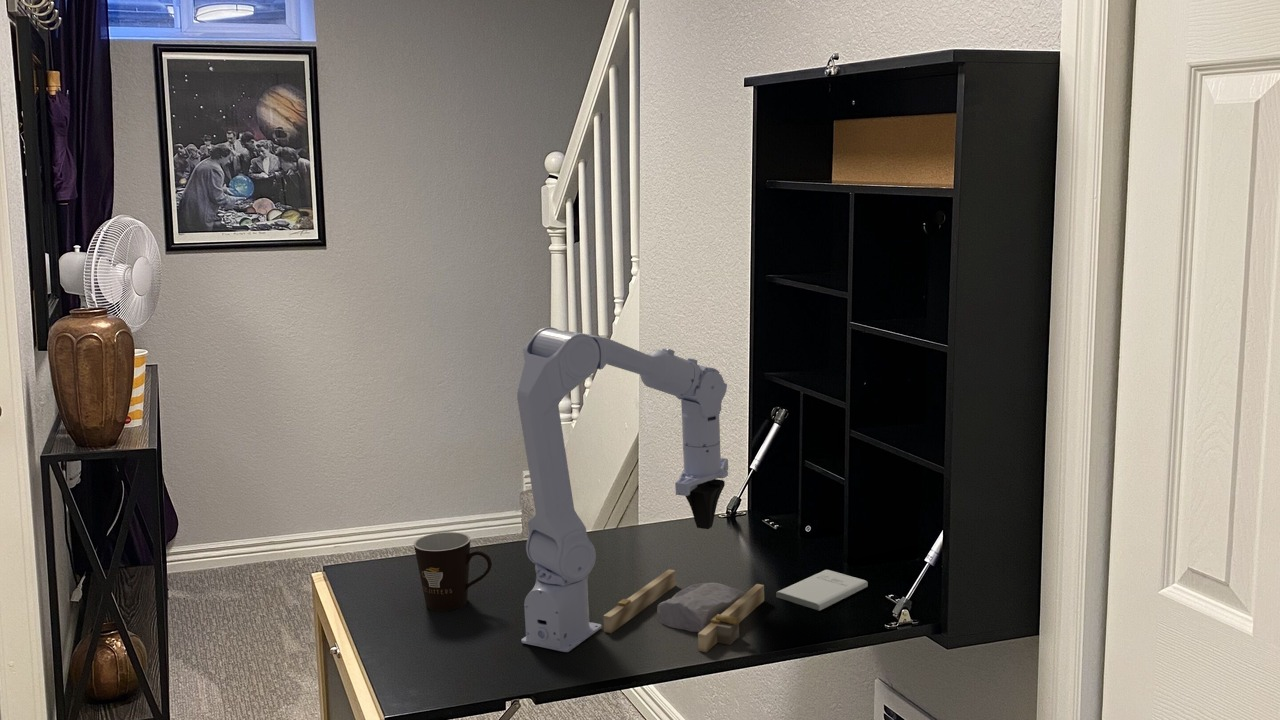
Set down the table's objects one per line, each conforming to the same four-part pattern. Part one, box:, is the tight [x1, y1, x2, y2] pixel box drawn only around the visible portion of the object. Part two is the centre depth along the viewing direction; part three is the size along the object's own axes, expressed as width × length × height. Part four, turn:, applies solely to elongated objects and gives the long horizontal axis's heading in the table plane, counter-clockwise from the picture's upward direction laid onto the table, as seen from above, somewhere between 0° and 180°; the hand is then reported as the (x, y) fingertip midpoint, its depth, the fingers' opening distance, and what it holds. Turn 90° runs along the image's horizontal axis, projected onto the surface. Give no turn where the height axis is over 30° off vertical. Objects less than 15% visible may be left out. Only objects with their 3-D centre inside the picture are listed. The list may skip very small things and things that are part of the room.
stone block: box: [656, 582, 745, 634], centre depth 173 cm, size 12×5×10 cm
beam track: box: [603, 569, 765, 653], centre depth 172 cm, size 20×19×4 cm
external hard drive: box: [775, 569, 869, 612], centre depth 180 cm, size 2×8×12 cm
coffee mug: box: [413, 531, 493, 612], centre depth 180 cm, size 12×9×10 cm
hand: (704, 527), depth 181 cm, fingers closed
